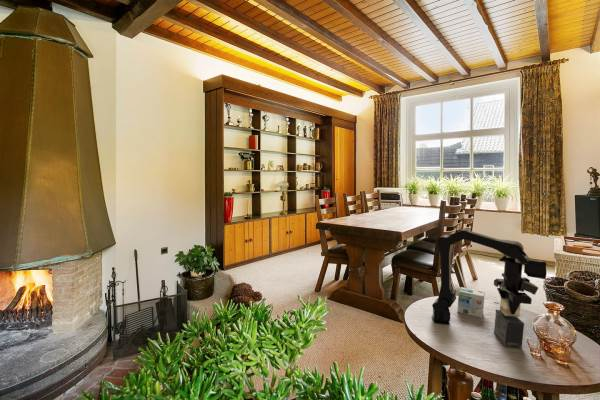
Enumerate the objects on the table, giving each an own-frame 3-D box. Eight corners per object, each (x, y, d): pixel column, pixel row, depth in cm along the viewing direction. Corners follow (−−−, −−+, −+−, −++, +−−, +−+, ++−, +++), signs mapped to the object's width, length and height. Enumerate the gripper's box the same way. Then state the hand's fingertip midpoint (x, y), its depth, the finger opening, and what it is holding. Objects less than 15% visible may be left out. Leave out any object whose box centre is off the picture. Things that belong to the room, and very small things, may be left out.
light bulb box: (457, 312, 146) (458, 290, 145) (458, 307, 152) (460, 286, 151) (482, 318, 140) (484, 296, 139) (483, 312, 146) (485, 291, 144)
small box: (523, 349, 116) (525, 323, 115) (504, 347, 117) (506, 321, 116) (510, 334, 126) (512, 310, 125) (493, 332, 128) (494, 309, 127)
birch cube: (505, 315, 119) (506, 303, 118) (499, 309, 124) (500, 298, 123) (519, 317, 118) (520, 304, 117) (513, 311, 123) (514, 299, 122)
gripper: (549, 283, 108) (546, 325, 110) (524, 267, 126) (521, 303, 128) (514, 281, 111) (511, 321, 112) (494, 265, 129) (491, 300, 130)
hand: (509, 310), depth 121 cm, fingers closed on birch cube, 5 cm apart
